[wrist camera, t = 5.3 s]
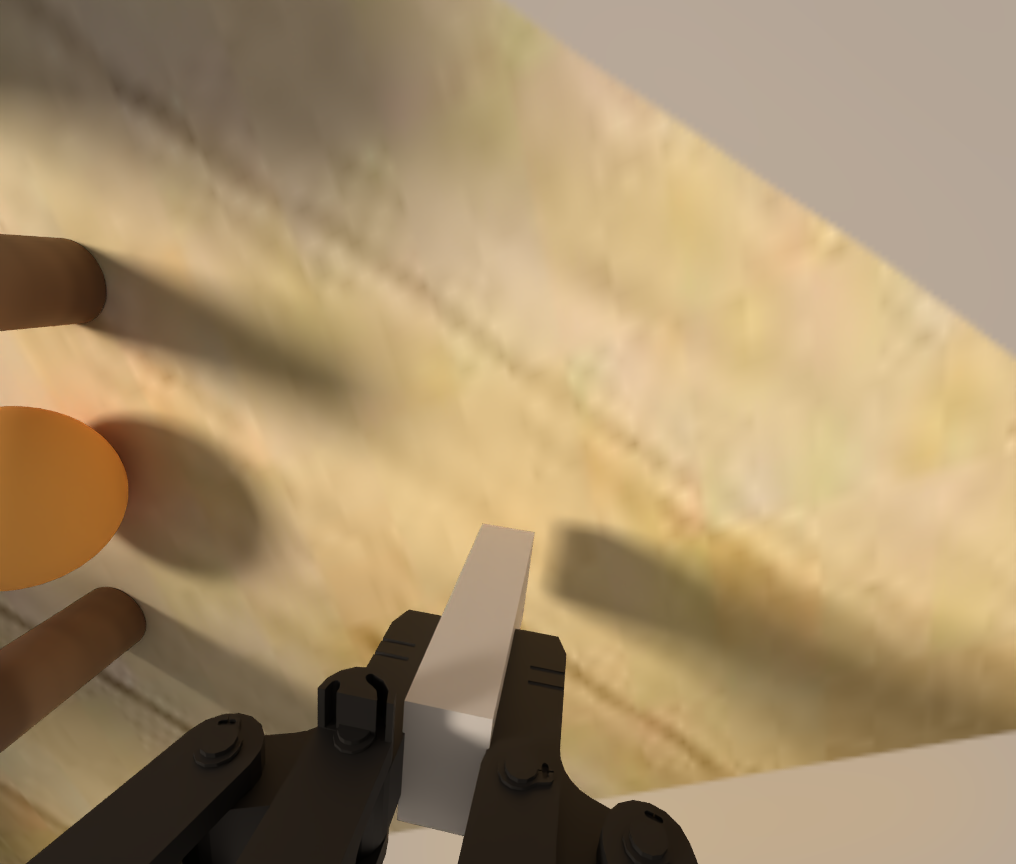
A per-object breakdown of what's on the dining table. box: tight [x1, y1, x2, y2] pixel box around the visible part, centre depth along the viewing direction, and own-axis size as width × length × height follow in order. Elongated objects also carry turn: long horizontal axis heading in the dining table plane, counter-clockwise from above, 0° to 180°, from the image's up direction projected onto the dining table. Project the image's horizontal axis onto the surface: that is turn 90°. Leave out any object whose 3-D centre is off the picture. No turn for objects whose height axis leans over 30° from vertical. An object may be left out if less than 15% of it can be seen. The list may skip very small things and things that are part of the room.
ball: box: [0, 406, 128, 591], centre depth 16 cm, size 6×6×6 cm
